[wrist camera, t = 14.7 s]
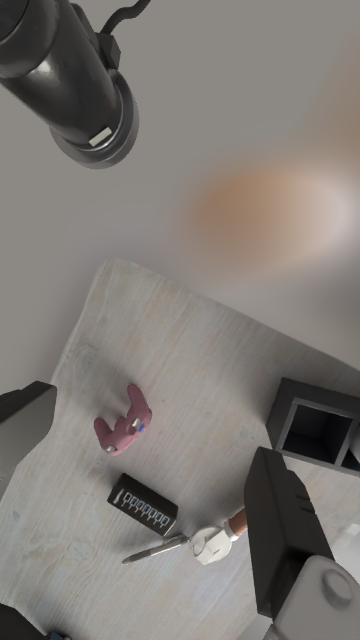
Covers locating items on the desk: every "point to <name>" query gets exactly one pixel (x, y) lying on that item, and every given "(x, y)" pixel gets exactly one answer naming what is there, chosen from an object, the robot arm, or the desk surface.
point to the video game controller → (125, 424)
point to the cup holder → (315, 425)
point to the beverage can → (356, 443)
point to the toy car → (56, 637)
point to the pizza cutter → (217, 538)
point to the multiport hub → (143, 504)
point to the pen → (157, 549)
